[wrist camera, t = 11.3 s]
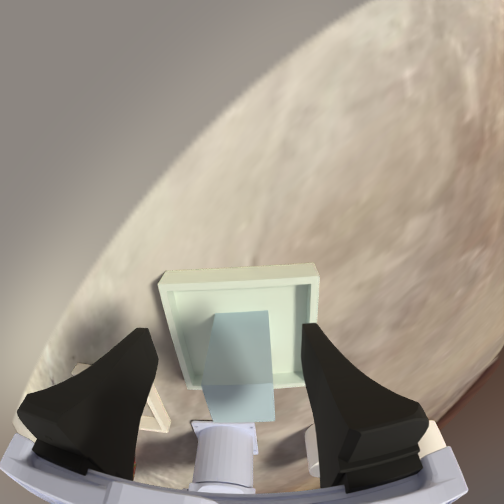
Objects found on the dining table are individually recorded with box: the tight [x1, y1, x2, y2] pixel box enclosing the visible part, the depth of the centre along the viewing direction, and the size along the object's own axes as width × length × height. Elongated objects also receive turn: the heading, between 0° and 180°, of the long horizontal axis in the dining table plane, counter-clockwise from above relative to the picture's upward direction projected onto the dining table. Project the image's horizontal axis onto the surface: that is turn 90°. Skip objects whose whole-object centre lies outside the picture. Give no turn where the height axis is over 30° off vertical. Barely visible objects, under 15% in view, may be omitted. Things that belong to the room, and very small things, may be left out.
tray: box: [158, 263, 320, 390], centre depth 24 cm, size 12×12×2 cm
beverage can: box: [418, 420, 446, 459], centre depth 29 cm, size 8×8×12 cm
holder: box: [71, 363, 171, 433], centre depth 29 cm, size 10×10×2 cm
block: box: [201, 310, 275, 423], centre depth 20 cm, size 4×4×8 cm
